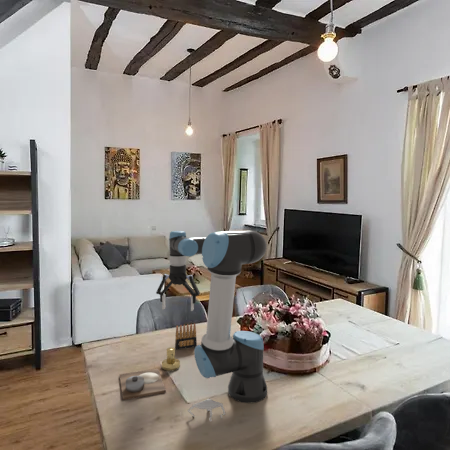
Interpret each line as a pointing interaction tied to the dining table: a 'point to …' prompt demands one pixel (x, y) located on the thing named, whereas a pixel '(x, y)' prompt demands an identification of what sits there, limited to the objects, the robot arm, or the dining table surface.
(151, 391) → the carrier plate
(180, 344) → the ammunition clip
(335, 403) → the dining table surface
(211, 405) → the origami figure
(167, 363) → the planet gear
